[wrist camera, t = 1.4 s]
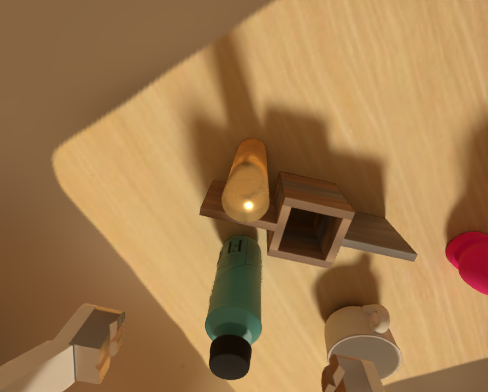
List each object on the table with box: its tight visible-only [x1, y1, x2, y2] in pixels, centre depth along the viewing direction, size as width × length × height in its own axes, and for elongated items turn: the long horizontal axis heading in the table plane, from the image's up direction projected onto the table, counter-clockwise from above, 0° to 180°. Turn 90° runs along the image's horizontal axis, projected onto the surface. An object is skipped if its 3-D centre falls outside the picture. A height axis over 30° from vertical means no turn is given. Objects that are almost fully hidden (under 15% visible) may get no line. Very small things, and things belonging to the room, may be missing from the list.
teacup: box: [324, 304, 402, 380], centre depth 44 cm, size 14×11×8 cm
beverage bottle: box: [205, 235, 262, 380], centre depth 34 cm, size 6×7×20 cm
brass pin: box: [222, 139, 269, 223], centre depth 30 cm, size 4×4×16 cm
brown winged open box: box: [199, 172, 417, 269], centre depth 36 cm, size 8×26×9 cm, turn 78°
